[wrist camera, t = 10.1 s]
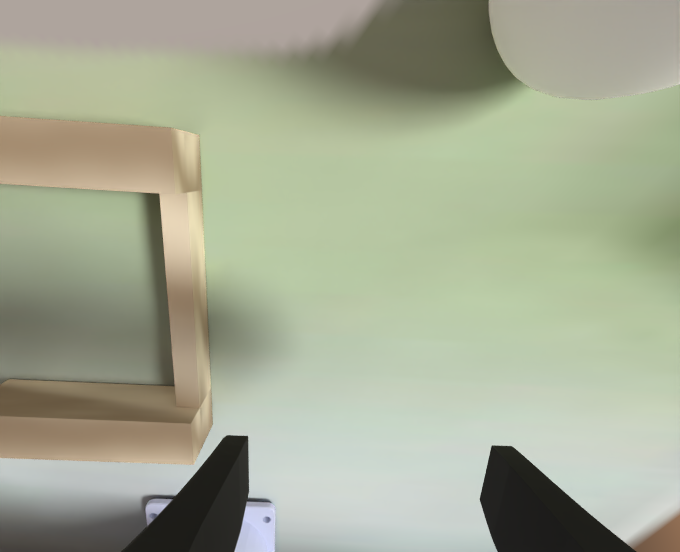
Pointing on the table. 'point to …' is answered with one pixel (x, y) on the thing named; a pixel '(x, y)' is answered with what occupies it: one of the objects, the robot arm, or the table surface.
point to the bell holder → (182, 289)
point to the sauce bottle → (589, 45)
